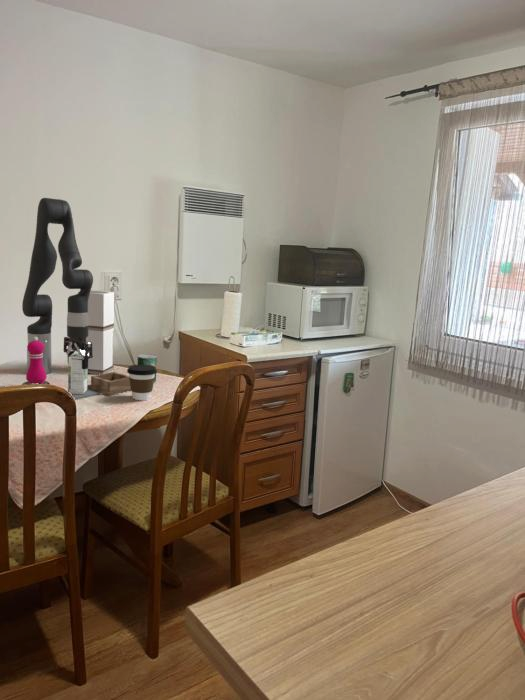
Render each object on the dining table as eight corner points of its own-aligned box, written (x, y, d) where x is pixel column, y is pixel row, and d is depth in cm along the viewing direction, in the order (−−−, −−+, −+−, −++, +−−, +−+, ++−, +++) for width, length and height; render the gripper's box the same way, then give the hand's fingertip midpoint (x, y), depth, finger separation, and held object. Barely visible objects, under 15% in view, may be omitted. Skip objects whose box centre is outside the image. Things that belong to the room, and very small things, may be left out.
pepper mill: (50, 386, 209) (49, 336, 205) (40, 391, 202) (39, 339, 198) (32, 384, 209) (31, 334, 205) (22, 389, 202) (21, 337, 198)
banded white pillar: (113, 369, 240) (114, 292, 233) (103, 375, 230) (103, 294, 223) (89, 367, 242) (89, 290, 235) (78, 372, 232) (78, 292, 225)
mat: (56, 393, 200) (56, 392, 200) (81, 388, 209) (81, 386, 209) (74, 400, 194) (74, 398, 194) (99, 394, 202) (99, 392, 202)
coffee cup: (124, 394, 204) (125, 364, 201) (153, 393, 208) (154, 363, 205) (128, 403, 194) (129, 371, 191) (158, 401, 198) (159, 370, 196)
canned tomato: (133, 381, 223) (133, 355, 221) (145, 377, 230) (145, 353, 228) (147, 384, 220) (148, 358, 217) (160, 381, 226) (160, 355, 224)
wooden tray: (86, 388, 209) (86, 376, 208) (114, 382, 220) (115, 370, 219) (109, 396, 201) (109, 383, 200) (137, 389, 212) (138, 377, 211)
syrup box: (72, 389, 204) (71, 352, 201) (88, 390, 204) (87, 353, 201) (67, 394, 198) (67, 356, 195) (84, 394, 199) (84, 356, 196)
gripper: (57, 322, 197) (57, 364, 200) (81, 327, 189) (81, 372, 192) (74, 320, 203) (74, 361, 206) (98, 326, 195) (98, 368, 198)
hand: (77, 366), depth 199 cm, fingers open, 8 cm apart
